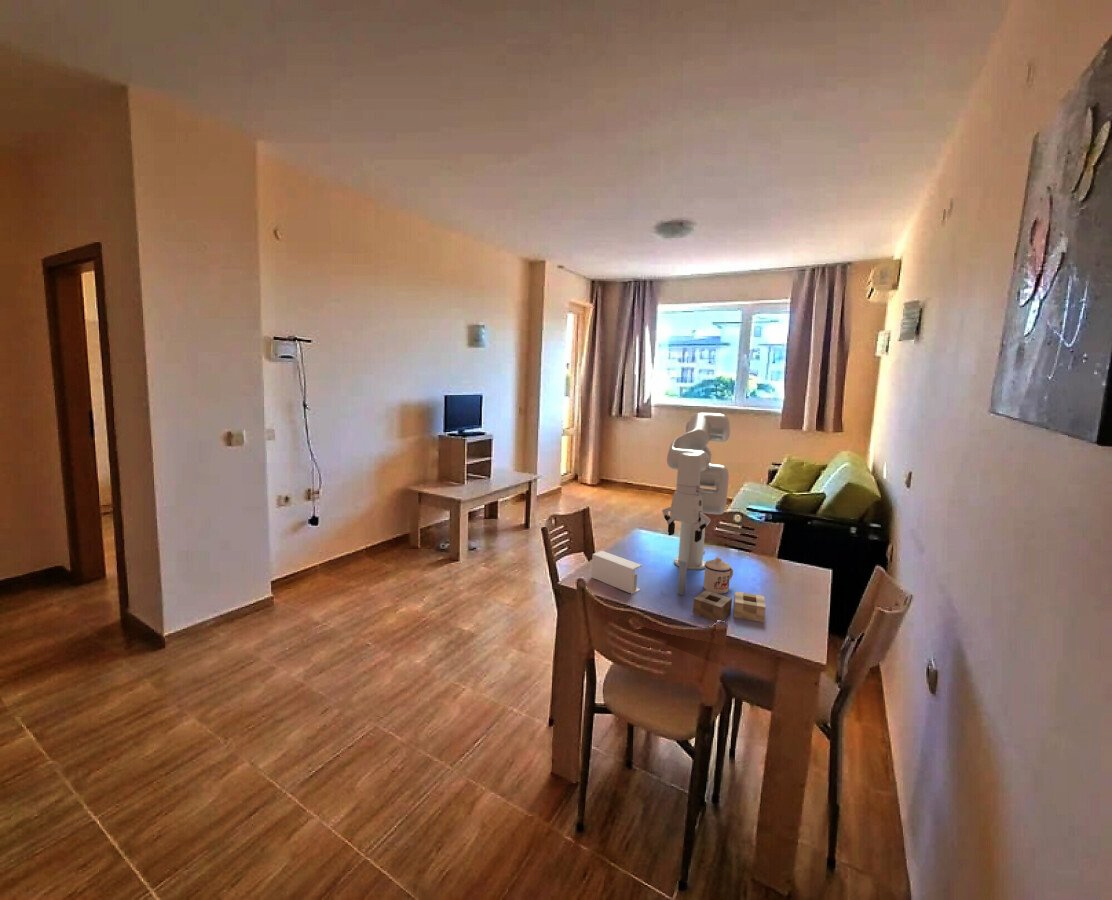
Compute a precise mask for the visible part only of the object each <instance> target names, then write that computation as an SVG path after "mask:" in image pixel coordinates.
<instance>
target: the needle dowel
mask: <svg viewBox="0 0 1112 900" xmlns="http://www.w3.org/2000/svg"><path fill="white" fill-rule="evenodd" d="M687 571H688V569H687V560H680V564H679V566H678V577H677V579H678V580H677V593H676V594H677V595H679V596H685V595H686V586H687V584H686V583H687V573H688V572H687Z"/></svg>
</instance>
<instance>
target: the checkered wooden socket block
mask: <svg viewBox="0 0 1112 900" xmlns="http://www.w3.org/2000/svg"><path fill="white" fill-rule="evenodd" d="M733 600H734V601H733V618H737V619H743V620H748V621H754V622H760V623H765V617H766V600H765V595H761V594H754V593H749V592H742V591H736V590H735V591H734V598H733Z"/></svg>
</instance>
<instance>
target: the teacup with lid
mask: <svg viewBox="0 0 1112 900" xmlns="http://www.w3.org/2000/svg"><path fill="white" fill-rule="evenodd" d="M705 562H706V563H705V568H704V573H703V575H704V576H703V589H704V590H706V591H710V592H713V593H716V594H720V595H722V594H726V593H728V592H729V589H730V588H729V587H730V580H731V579H732V578H733V575H734V569H733V568H732V567H731V565H730V564H729V563H728V562H726V561H723V559H722V558H721V557H720V556H719V557H718V556H716V557H715V559H710V560H706V561H705Z"/></svg>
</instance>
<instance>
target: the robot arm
mask: <svg viewBox="0 0 1112 900" xmlns="http://www.w3.org/2000/svg"><path fill="white" fill-rule="evenodd" d="M730 435H731V425H730V420H729V418H728V417H727V415H726V414H723V413H713V412H696V413H695V414H693V415H691V417H690V420H689V421H687V422H686V425H685V432H684V433H683V434H681V435H679V436H677V437H676V438H674V439H673V440H672V442H671V443H670V446H669V449H668V452H667V454H666V455H667V456H666V463H667V465H668V466H667V467H669V468H670V469H671V470H675V471H676V470H677V472H676V473H677V474H676V475H677V476H676V486H675V487H676V490H675V491H674V492H673V496H672V499H671V504H670V507H666V508H664V509H662V511H661V512H662V514H663V517H664V519H665V521H666V523H667V524H668V525H667V526H668V527H667V532H668V536H669V537H670V536H672V535H674V534H675V528H676V523H675V521H676V522H680V528H679V530H680V531H679V532H680V533H679V543H678V546H679V547H678V555H677V557H675V558H674V559H673V563H674V564H675V565H676V566H677V567H679V564H680V560H687V570H691V571H694V570H695V571H696V570H698V571H699V570H703V569H705V563H706V562H707V561H705V560H704V559H703V558H704V555H706V551H705V550H704V547H705V534H706V527H707V528H708V525H709V524H710V523H711V518H710V517H708V515H706V514H709V515H710V514H712V515H723V514H724V513H725V511H726V510H727V509H726V508H727V501H728V489H729V481H730V479H729V477H730V476H729V469H728V468H727V467H726V466H725V465H724V464H723V465H722V464H715V463H712V462H711V461H712V452H711V450H710V448H709V447H708V444H709V442H718V443H719V442H720V443H724V442H727V441H728V440H729V438H730ZM712 488H713V489H712ZM669 512H670V514H669Z"/></svg>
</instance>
